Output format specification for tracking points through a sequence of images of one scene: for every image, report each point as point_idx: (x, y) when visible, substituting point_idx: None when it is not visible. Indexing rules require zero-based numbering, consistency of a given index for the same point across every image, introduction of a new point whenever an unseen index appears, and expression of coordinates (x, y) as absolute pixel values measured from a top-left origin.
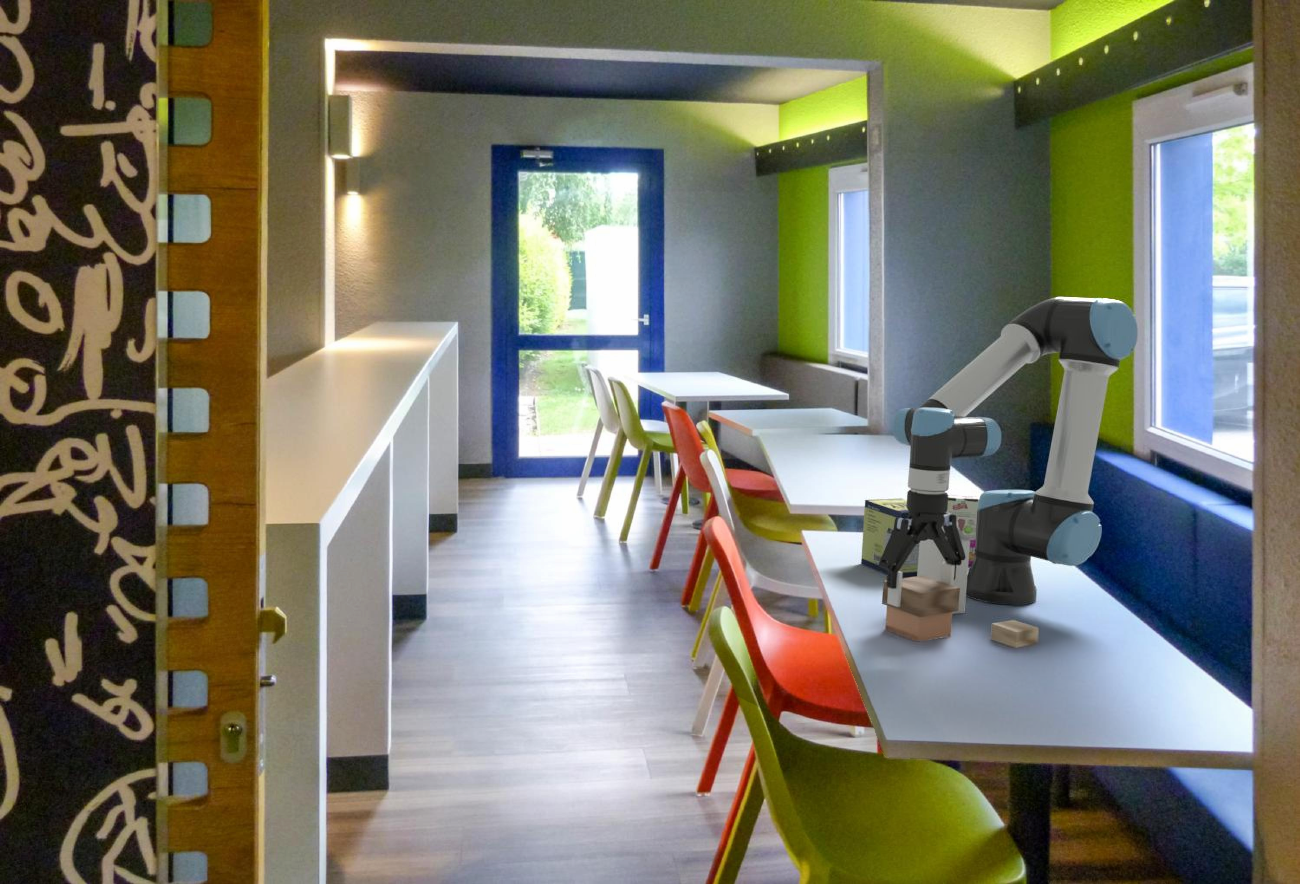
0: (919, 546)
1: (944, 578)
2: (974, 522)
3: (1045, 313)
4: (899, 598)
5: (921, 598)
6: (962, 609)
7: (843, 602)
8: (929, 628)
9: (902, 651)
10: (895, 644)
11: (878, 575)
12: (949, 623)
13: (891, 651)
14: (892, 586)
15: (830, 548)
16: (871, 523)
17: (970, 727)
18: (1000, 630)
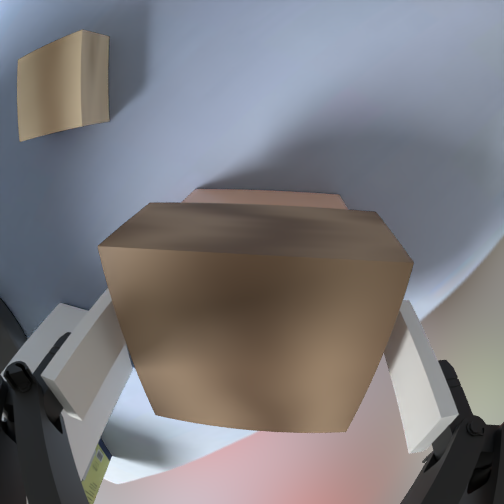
0: (84, 473)
1: (101, 358)
2: None
3: None
4: (410, 321)
5: (399, 248)
6: (61, 307)
7: (243, 430)
8: (292, 202)
9: (444, 158)
10: (411, 211)
11: (110, 440)
12: (192, 201)
13: (464, 176)
14: (450, 366)
15: (119, 474)
16: (92, 491)
17: None
18: (88, 89)
